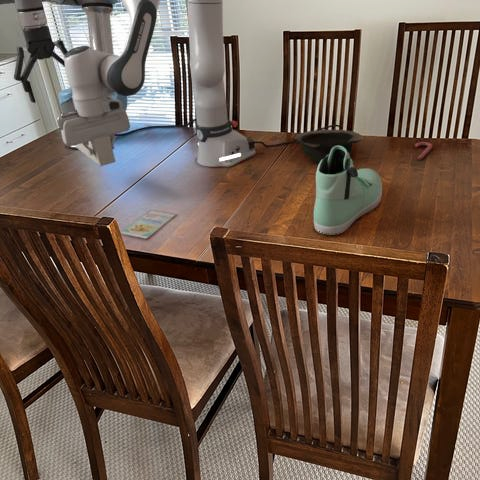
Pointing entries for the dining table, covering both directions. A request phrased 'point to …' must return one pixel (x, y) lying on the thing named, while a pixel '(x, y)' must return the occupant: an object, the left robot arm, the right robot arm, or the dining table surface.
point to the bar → (99, 150)
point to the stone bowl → (325, 142)
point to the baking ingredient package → (147, 224)
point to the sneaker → (343, 192)
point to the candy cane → (425, 149)
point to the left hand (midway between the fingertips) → (54, 97)
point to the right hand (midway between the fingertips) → (101, 151)
